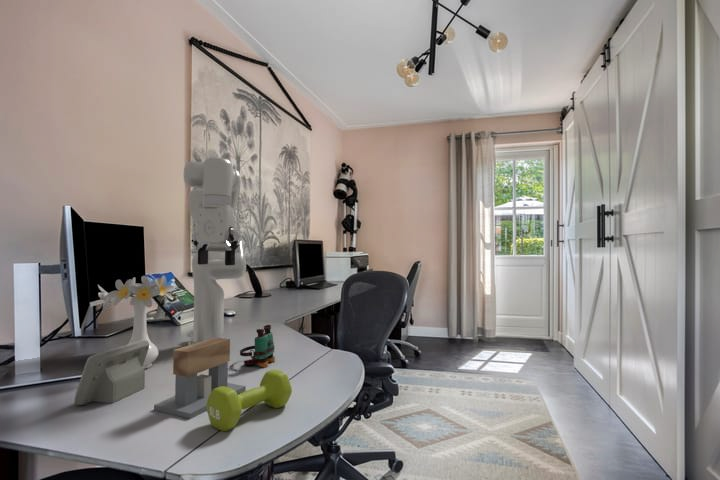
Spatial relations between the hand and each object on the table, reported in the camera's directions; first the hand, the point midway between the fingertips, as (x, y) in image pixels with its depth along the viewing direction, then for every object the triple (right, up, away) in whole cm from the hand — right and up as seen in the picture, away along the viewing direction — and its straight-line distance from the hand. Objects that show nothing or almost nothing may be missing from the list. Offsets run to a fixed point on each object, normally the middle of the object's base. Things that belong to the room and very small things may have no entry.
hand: (216, 264), depth 106 cm
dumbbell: (+18, -28, -30) cm, 45 cm away
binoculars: (+10, -29, +4) cm, 31 cm away
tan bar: (+6, -21, -22) cm, 31 cm away
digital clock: (-16, -28, -20) cm, 38 cm away
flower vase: (-21, -28, -1) cm, 35 cm away
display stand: (+6, -28, -23) cm, 36 cm away
